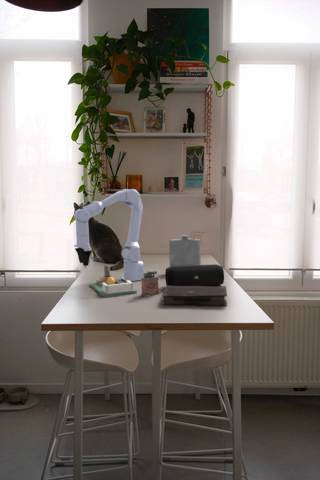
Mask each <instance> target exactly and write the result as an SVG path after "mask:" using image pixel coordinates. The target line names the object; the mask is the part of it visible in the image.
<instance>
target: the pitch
mask: <svg viewBox="0 0 320 480" xmlns="http://www.w3.org/2000/svg"><path fill="white" fill-rule="evenodd" d="M123 283H125V281H123V280H122V279H119V280H117V279H116V278H115V284H123ZM89 285H90V287H91V288H92V289H93V290H95V291H96V292H97V293H98V294H100V295H101V296H102V297H103V298H105V297H107V298H108V297H115V296H124V295H132V293H133V294H137V293H138V292H137V290H136V289H135V288H133V291H128V292H119V293H110V294H106V293H105V292H103V290H102V283H101V282H100V280H96V282H91V283H89ZM107 285H108V284H107Z"/></svg>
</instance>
